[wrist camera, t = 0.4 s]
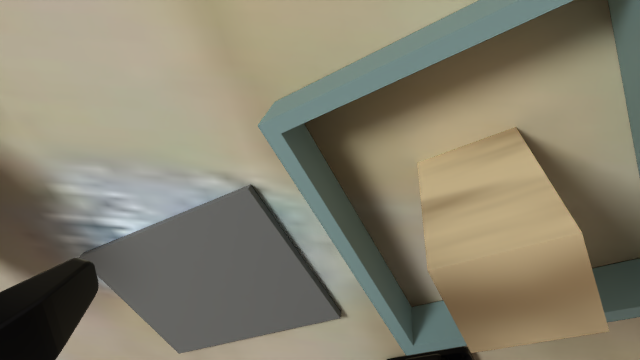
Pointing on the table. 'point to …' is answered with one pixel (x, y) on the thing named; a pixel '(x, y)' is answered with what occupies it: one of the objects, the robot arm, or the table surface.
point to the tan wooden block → (505, 247)
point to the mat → (214, 275)
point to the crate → (392, 65)
